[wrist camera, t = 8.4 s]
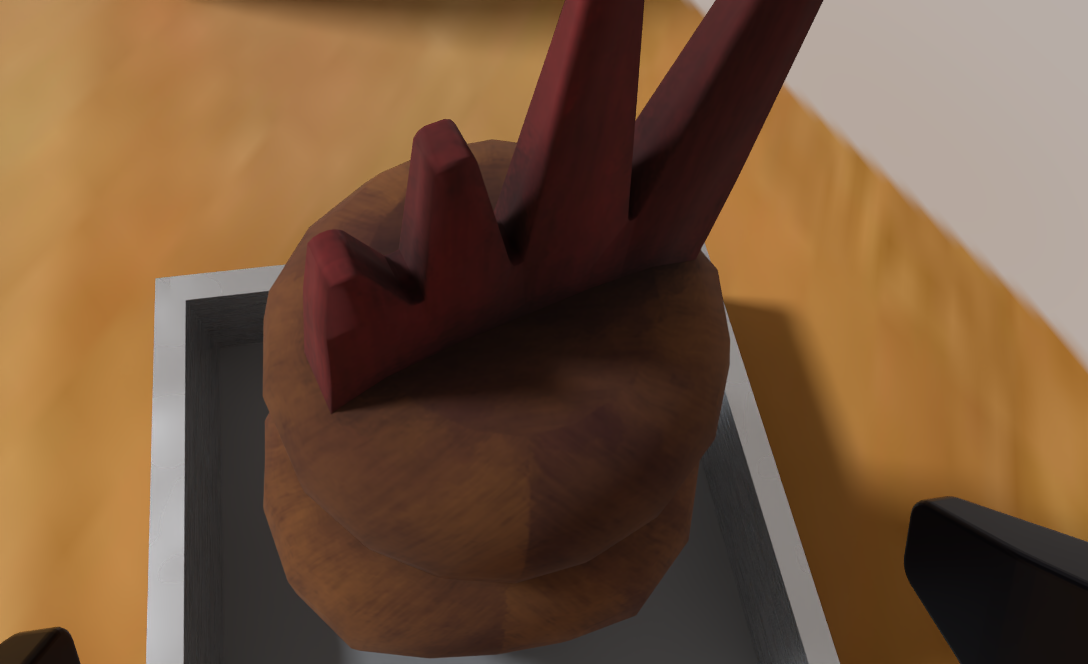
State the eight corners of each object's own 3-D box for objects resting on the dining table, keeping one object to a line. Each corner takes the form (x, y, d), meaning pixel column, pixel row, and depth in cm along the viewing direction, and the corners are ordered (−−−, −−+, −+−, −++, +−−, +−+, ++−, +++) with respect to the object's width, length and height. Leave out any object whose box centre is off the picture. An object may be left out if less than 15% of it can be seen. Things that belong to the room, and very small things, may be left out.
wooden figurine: (605, 391, 18) (1019, -404, 5) (643, 641, 16) (1650, 437, 3) (324, 410, 17) (-128, -514, 4) (321, 680, 15) (-843, 690, 2)
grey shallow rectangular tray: (893, 1033, 14) (1016, 1131, 11) (185, 1265, 12) (91, 1471, 9) (670, 276, 21) (708, 205, 18) (189, 333, 19) (136, 263, 16)
